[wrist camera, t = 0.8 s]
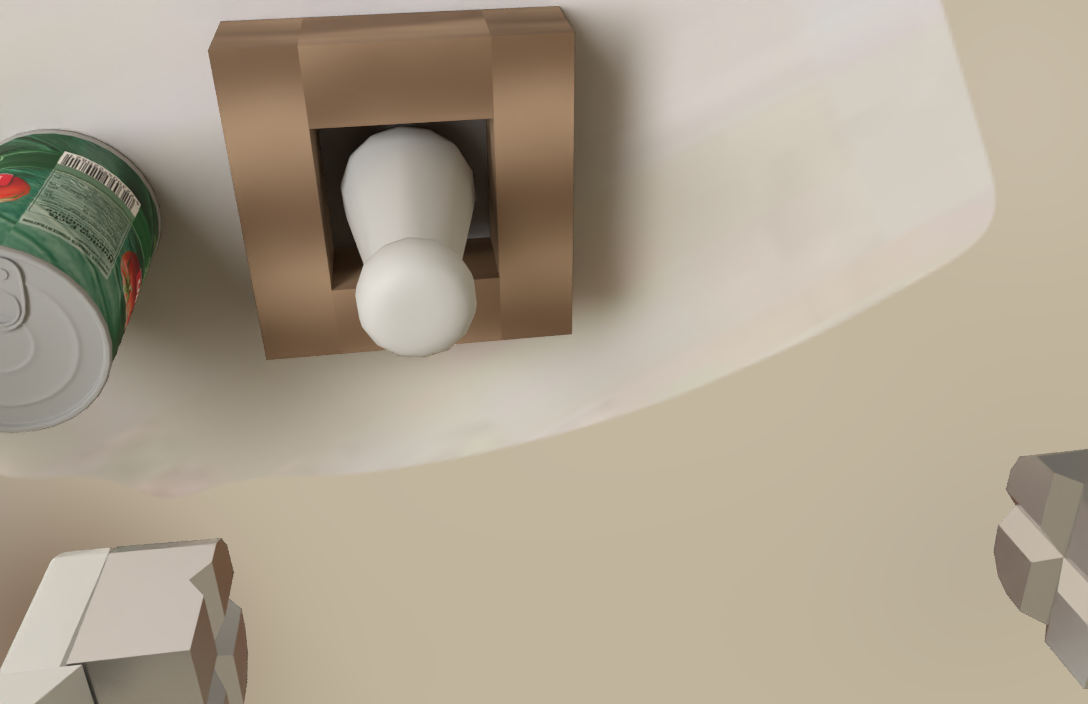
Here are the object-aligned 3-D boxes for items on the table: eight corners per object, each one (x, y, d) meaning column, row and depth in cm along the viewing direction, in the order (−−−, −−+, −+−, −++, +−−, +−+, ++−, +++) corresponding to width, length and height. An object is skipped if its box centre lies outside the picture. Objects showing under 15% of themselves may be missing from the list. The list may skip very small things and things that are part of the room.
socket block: (220, 21, 41) (208, 50, 38) (558, 6, 43) (574, 32, 40) (273, 314, 49) (266, 359, 46) (558, 291, 51) (571, 334, 47)
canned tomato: (147, 307, 48) (95, 452, 39) (-37, 267, 45) (-137, 412, 36) (175, 156, 44) (126, 277, 35) (-23, 104, 42) (-131, 219, 33)
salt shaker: (447, 91, 44) (473, 220, 34) (486, 204, 48) (522, 355, 37) (320, 133, 44) (306, 274, 34) (369, 243, 48) (370, 404, 37)
